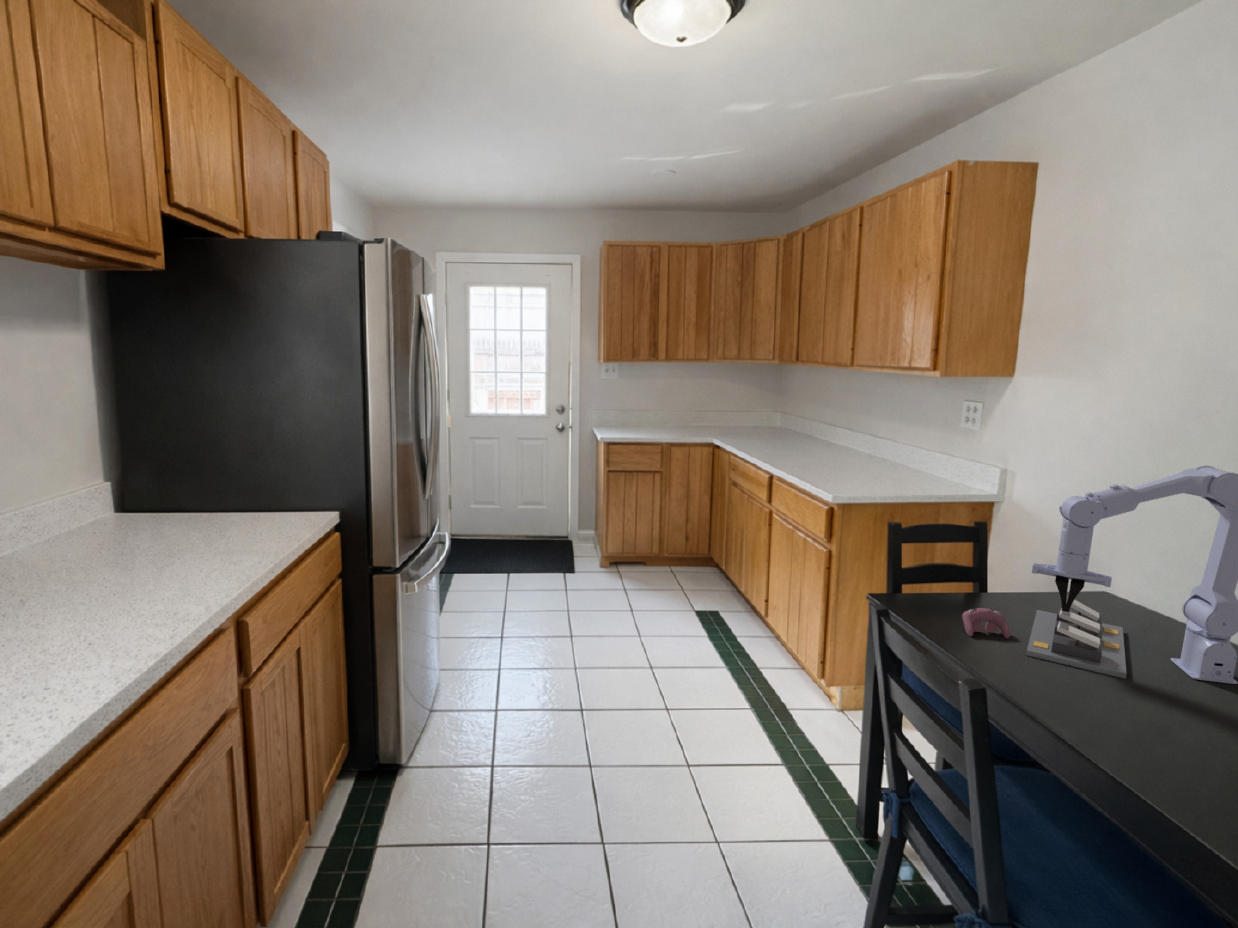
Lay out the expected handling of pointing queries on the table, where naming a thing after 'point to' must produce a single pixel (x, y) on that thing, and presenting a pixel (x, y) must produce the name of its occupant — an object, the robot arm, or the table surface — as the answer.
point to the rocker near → (1078, 634)
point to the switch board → (1107, 653)
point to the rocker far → (1084, 610)
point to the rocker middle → (1080, 621)
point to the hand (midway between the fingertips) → (1065, 610)
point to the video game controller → (983, 614)
